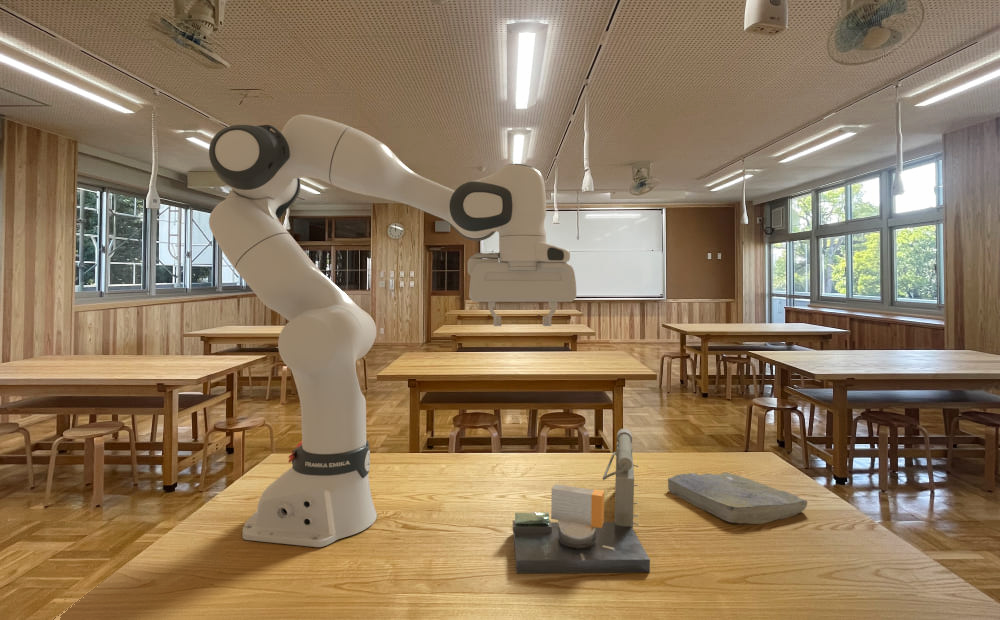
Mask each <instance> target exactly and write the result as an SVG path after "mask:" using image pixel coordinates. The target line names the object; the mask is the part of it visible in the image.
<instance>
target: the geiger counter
mask: <svg viewBox="0 0 1000 620" xmlns="http://www.w3.org/2000/svg"><path fill="white" fill-rule="evenodd" d="M632 443H633V434H632V433H631V431H630V430H629V429H627V428H621V429H619V430H618V431H617V434H616V450H615V451H613V453H612V455H611V457H610V459H609V462H608V464H607V466H606V469H605V471H604V474H603V477H602V480H603V481H604V480H606V479H608V478H610V477H612V476H614V475H615V484H614V485H615V489H614V522H615V525H620V526H631V527H632V529H633V530H634V526H639V523H636V522H634V517H638V514H635V515H634V505H638V502H634V501H635V500H634V495H635V487H638V484H635V473H634V472H635V471H634V467H637V468H638V467H639V465H636V464H634V460H633V459H634V458H633V449H634V448H633V446H632V445H633V444H632ZM614 457H615V471H613V472H610V473H609V474H608V472H609V470H610V468H611V465H612V463H613V459H614Z"/></svg>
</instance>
